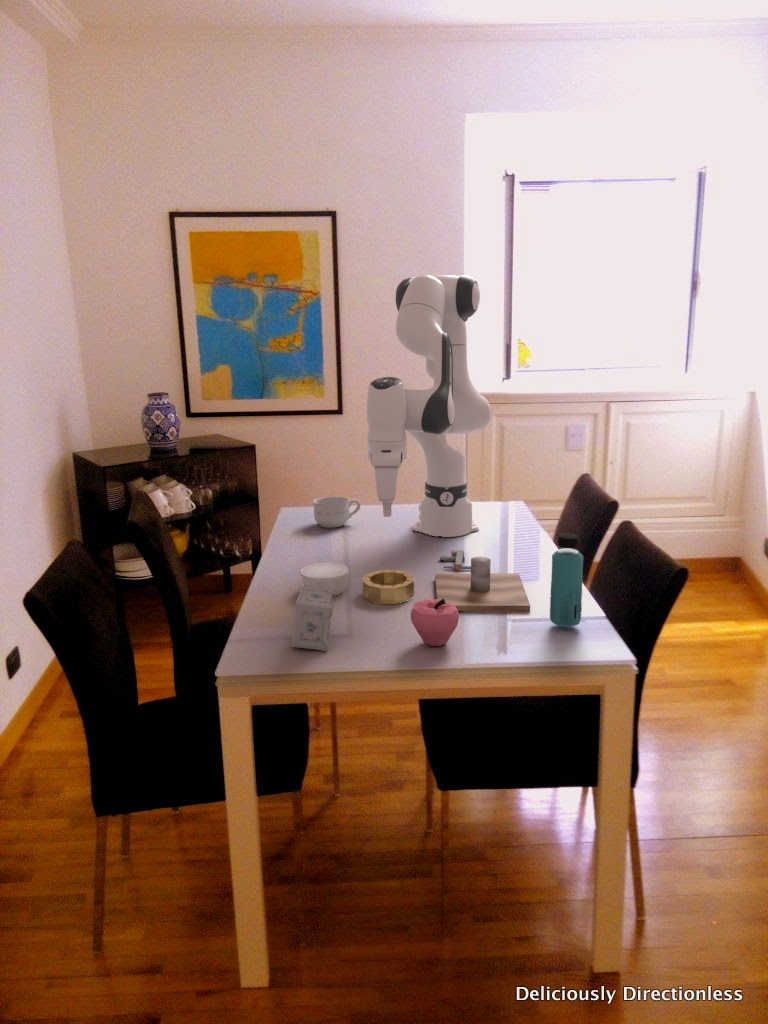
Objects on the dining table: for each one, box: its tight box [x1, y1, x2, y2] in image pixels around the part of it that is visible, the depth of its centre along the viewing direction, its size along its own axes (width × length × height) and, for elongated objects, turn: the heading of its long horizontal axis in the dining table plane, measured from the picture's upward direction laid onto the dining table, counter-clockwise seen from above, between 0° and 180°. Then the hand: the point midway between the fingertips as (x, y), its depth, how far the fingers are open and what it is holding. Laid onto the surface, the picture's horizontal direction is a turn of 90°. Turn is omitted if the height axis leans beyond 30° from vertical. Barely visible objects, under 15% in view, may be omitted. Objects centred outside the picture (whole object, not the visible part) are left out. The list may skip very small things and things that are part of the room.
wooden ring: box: [362, 569, 415, 606], centre depth 185 cm, size 12×12×4 cm
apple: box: [410, 598, 460, 647], centre depth 159 cm, size 10×9×10 cm
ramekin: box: [299, 561, 350, 596], centre depth 189 cm, size 11×11×5 cm
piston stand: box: [434, 556, 531, 613], centre depth 184 cm, size 20×20×8 cm
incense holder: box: [290, 585, 337, 652], centre depth 161 cm, size 10×8×10 cm
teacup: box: [312, 496, 361, 529], centre depth 239 cm, size 14×11×8 cm
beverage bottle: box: [549, 532, 584, 627], centre depth 164 cm, size 6×7×20 cm
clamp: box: [439, 549, 471, 571], centre depth 204 cm, size 15×2×10 cm
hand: (388, 510), depth 186 cm, fingers open, 8 cm apart
